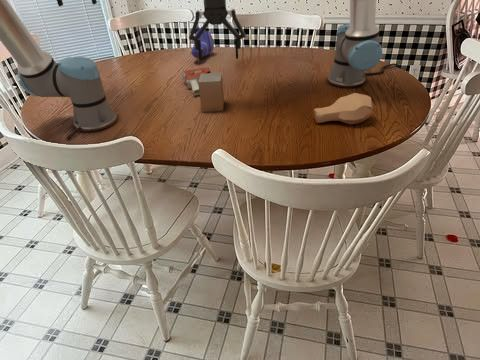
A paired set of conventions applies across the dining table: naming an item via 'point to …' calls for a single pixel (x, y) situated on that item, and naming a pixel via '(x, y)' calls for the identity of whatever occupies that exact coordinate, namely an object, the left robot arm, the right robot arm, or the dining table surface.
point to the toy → (203, 44)
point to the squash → (346, 109)
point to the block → (211, 92)
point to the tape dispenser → (193, 78)
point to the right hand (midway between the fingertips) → (218, 58)
